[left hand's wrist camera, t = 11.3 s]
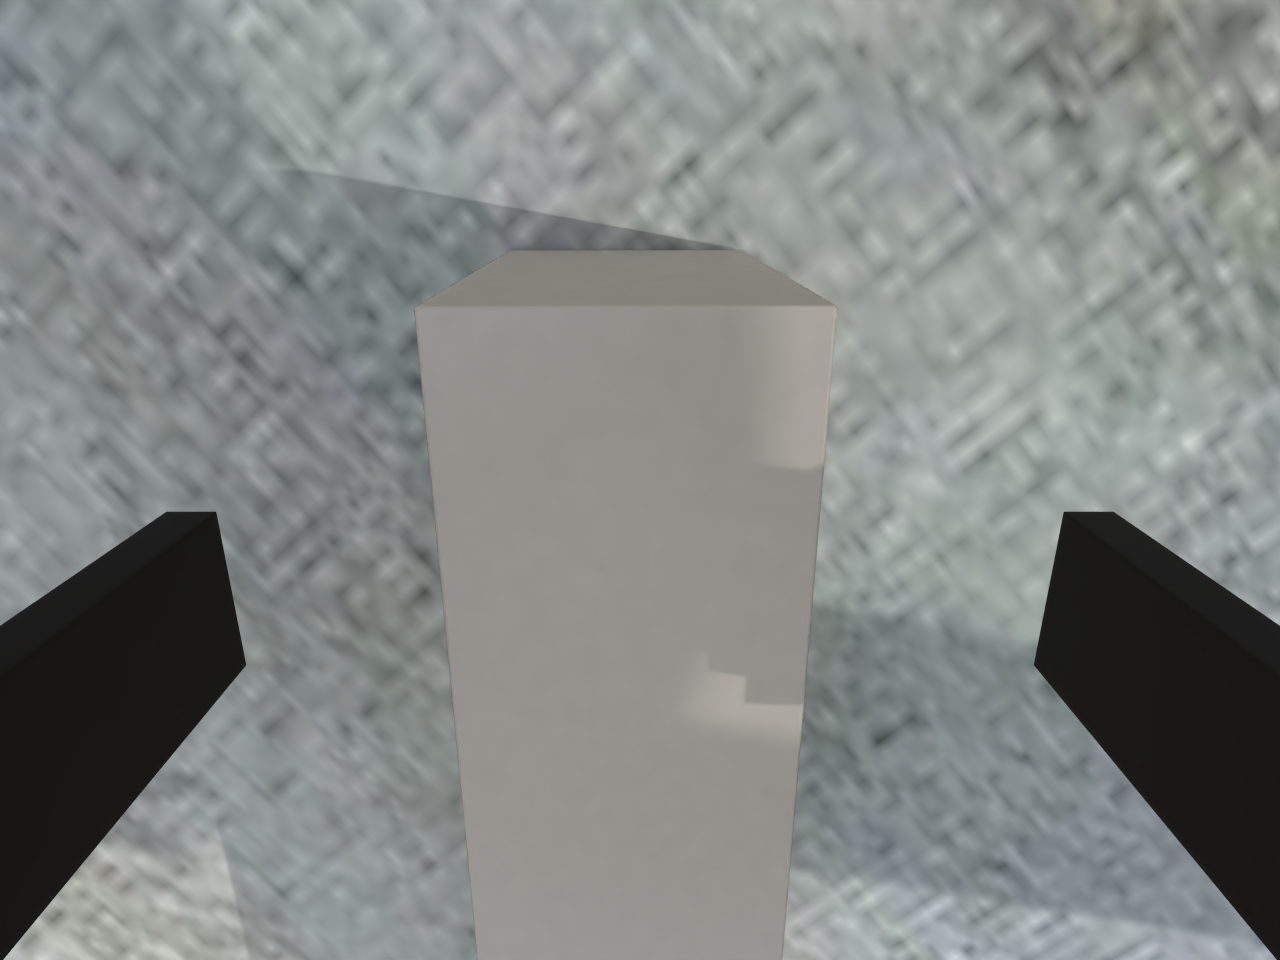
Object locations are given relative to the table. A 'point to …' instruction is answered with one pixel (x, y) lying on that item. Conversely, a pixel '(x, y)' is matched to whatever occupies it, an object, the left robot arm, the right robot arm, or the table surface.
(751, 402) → the beam
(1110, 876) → the table surface
